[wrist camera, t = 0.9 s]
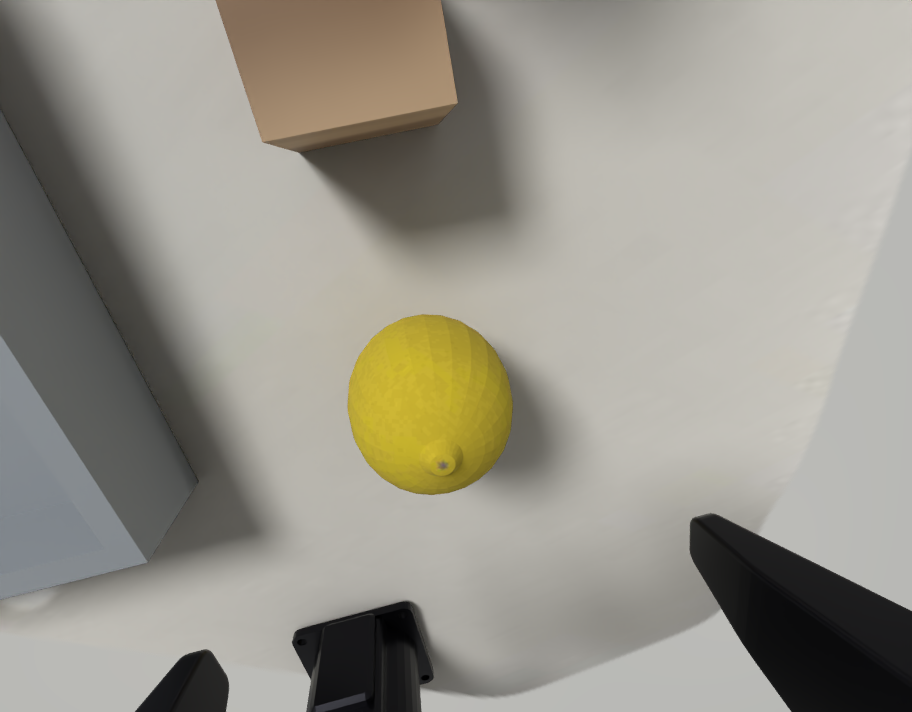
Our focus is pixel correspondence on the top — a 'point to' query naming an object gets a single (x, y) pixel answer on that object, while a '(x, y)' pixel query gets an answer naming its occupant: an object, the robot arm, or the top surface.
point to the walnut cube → (340, 67)
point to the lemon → (430, 404)
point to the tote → (70, 410)
